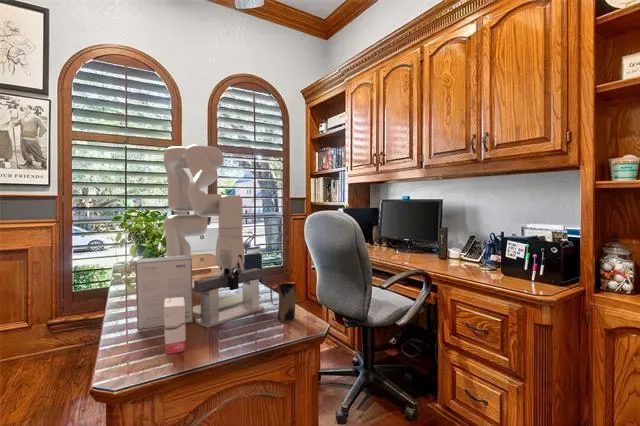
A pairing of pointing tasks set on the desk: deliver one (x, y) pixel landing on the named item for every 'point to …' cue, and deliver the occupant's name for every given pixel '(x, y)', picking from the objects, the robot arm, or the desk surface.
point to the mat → (223, 303)
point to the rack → (214, 317)
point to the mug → (285, 302)
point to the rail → (225, 280)
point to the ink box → (174, 325)
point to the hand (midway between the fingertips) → (230, 287)
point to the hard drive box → (162, 288)
